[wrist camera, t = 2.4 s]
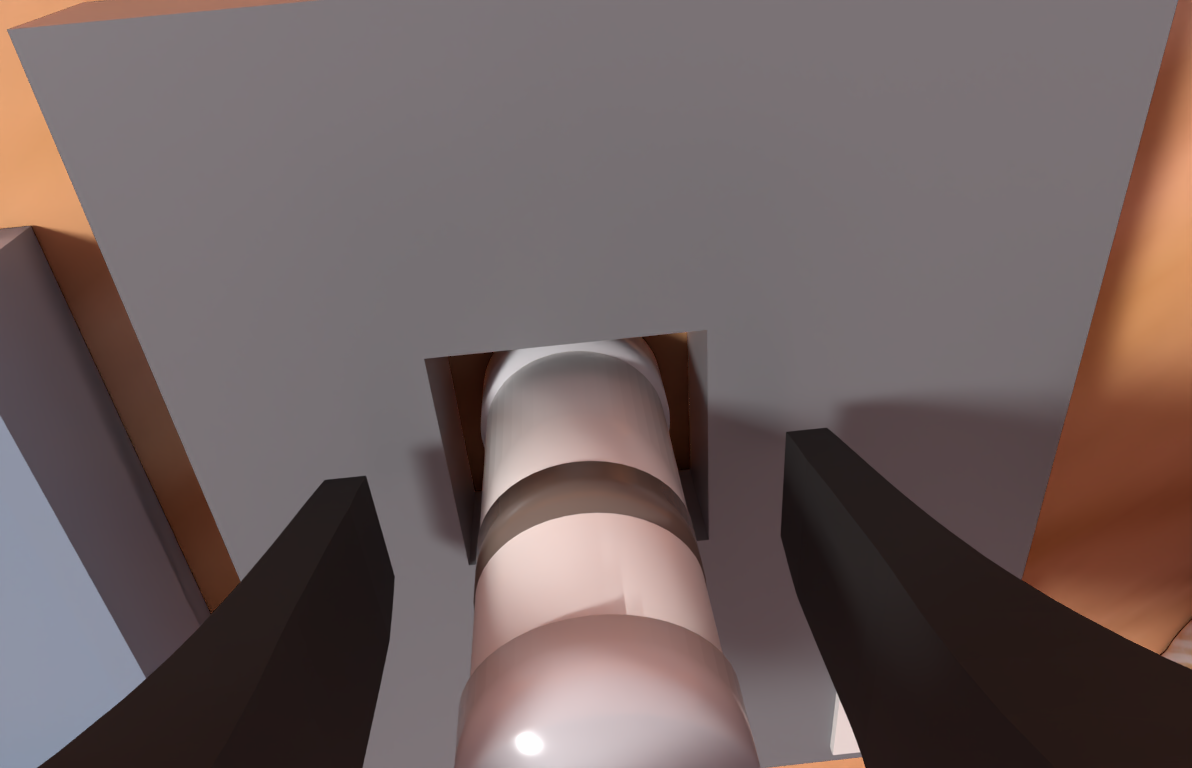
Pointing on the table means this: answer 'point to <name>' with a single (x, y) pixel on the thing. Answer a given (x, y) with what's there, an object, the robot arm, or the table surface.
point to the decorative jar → (1181, 647)
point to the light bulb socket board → (606, 262)
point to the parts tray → (72, 529)
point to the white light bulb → (591, 578)
